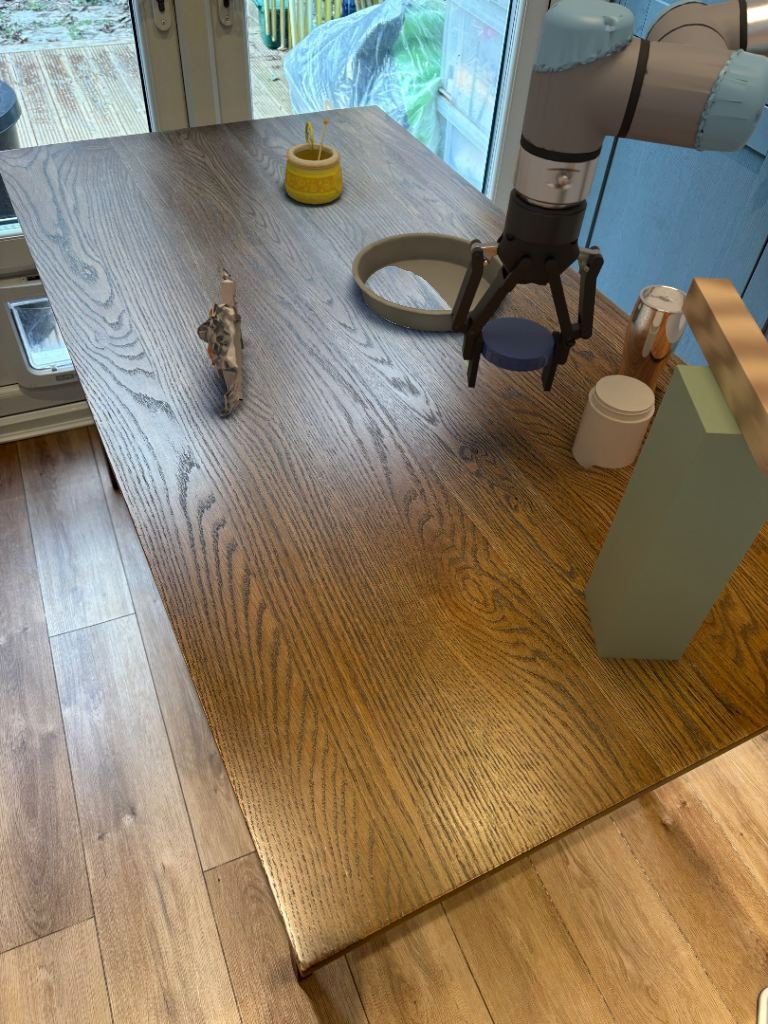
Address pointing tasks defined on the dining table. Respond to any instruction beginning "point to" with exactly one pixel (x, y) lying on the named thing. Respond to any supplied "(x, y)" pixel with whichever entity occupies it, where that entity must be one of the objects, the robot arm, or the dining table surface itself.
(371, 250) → the cake pan
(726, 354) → the beech stick
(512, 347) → the jar lid
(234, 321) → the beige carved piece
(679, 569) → the stand
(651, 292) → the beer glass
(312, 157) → the yellow pot
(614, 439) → the jam jar
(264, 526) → the dining table surface
